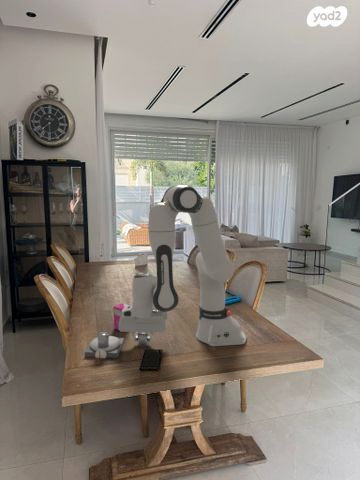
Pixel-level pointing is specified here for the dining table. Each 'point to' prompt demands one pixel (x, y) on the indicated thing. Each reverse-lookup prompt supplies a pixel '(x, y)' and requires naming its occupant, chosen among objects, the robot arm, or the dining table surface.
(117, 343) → the scale
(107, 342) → the cylinder
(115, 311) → the supplement box
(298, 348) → the dining table surface
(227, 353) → the dining table surface
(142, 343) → the cylinder
